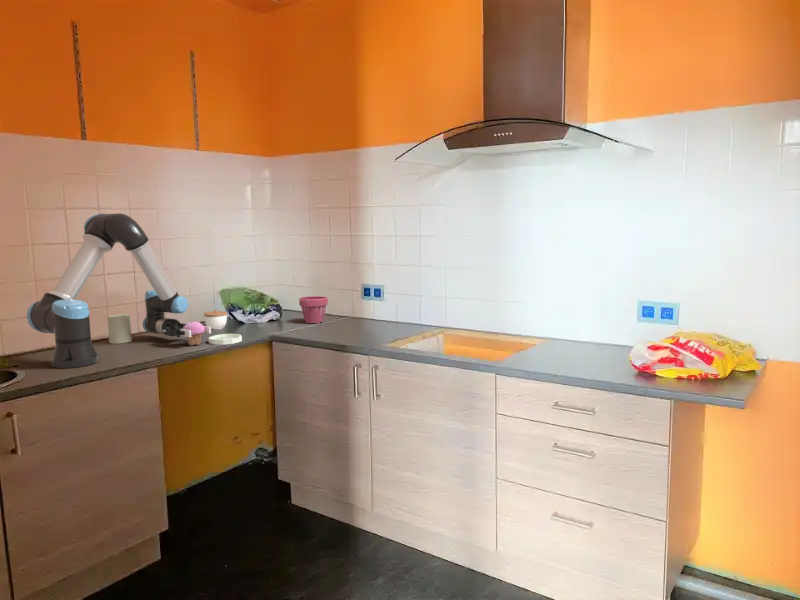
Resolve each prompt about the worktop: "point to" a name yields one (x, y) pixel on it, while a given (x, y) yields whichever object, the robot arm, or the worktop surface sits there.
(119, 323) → the can
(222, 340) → the dish
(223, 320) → the lidded jar
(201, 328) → the cupcake
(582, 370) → the worktop surface
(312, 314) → the plant pot
